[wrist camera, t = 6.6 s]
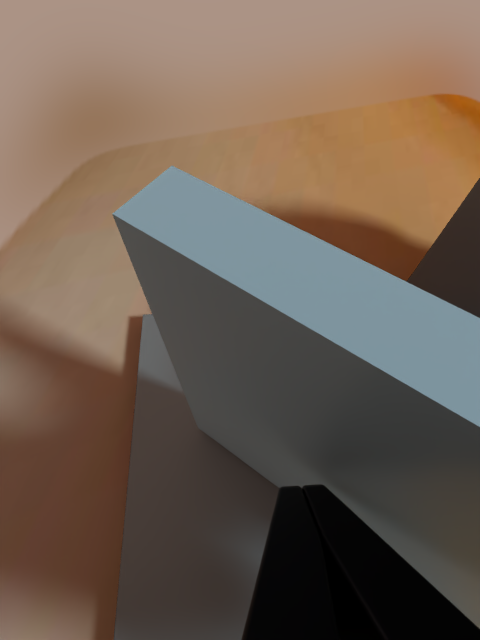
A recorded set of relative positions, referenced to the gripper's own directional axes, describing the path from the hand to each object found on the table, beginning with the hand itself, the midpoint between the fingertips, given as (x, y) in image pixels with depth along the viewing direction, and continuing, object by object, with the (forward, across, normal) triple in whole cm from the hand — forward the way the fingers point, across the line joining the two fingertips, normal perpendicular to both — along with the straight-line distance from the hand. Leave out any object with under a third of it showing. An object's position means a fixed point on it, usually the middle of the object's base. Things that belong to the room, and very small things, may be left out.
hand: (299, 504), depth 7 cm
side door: (+4, -2, +4) cm, 6 cm away
